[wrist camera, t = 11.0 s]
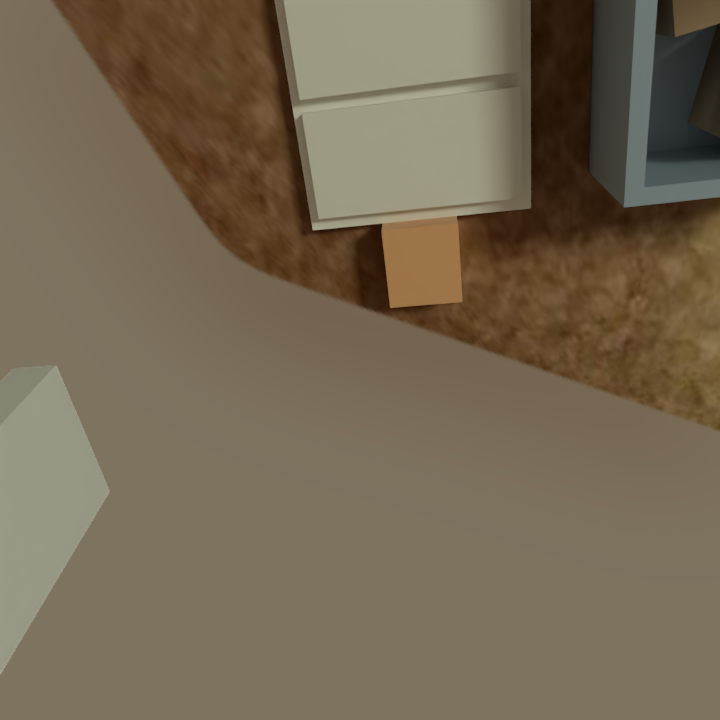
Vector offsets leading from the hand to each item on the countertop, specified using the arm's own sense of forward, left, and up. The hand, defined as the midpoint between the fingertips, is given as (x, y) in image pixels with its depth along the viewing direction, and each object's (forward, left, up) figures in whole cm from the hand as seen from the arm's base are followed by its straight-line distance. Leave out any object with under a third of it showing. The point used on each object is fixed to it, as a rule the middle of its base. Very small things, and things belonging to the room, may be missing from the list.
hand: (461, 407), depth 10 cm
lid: (0, -1, -23) cm, 23 cm away
